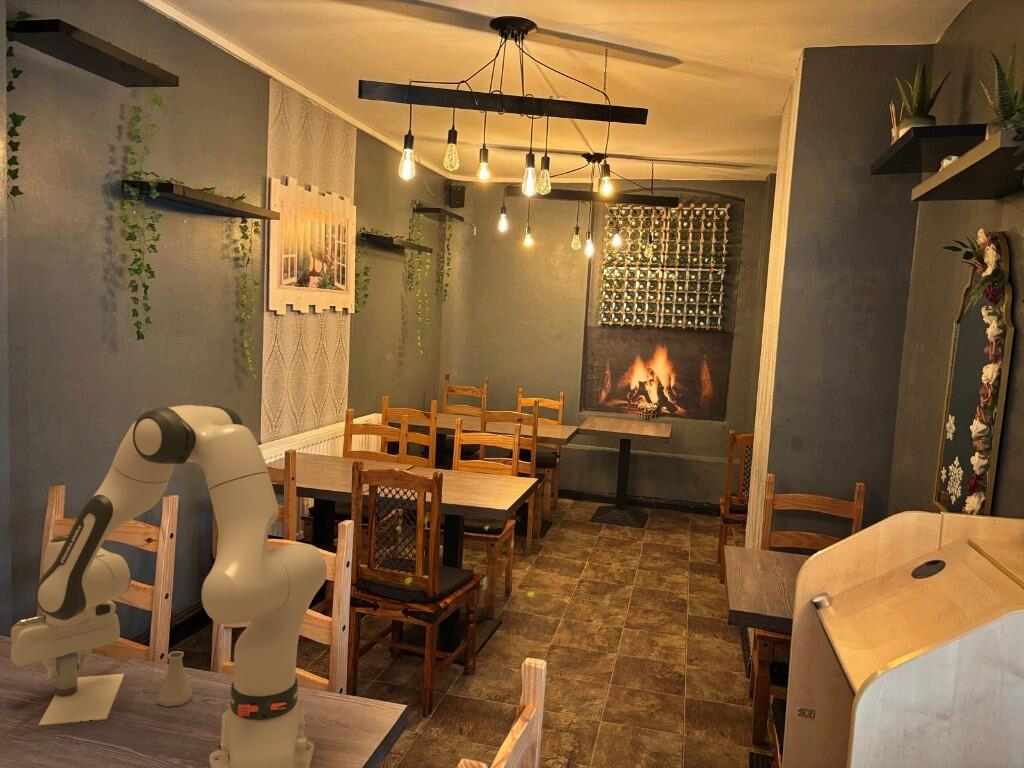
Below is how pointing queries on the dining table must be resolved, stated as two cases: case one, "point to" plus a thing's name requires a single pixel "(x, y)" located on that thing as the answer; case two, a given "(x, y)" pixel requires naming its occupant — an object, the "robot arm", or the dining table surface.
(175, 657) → the flask
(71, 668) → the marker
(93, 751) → the dining table surface
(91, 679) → the paper
